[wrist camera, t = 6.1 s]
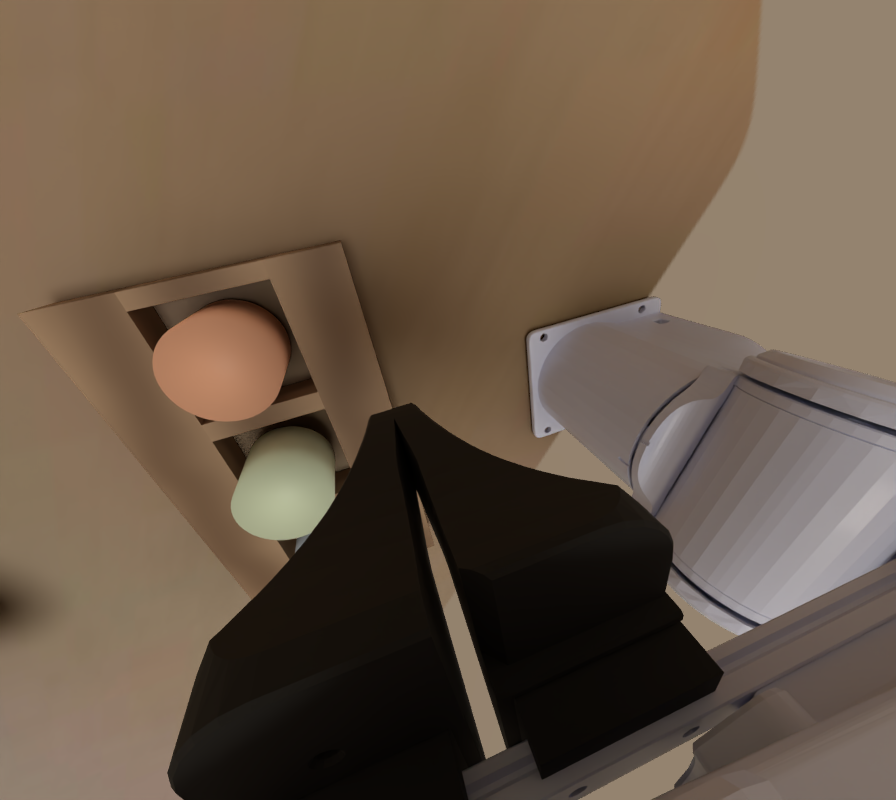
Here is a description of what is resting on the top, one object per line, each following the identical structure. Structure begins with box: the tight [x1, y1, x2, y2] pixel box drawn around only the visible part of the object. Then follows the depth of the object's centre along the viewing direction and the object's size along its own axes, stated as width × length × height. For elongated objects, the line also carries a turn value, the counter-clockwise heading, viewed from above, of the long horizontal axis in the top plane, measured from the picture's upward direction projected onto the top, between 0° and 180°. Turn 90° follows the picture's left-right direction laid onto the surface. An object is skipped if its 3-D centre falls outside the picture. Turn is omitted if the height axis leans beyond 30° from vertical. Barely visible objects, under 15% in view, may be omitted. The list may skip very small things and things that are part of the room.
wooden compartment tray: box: [18, 241, 434, 599], centre depth 19 cm, size 12×20×2 cm, turn 10°
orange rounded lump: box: [152, 300, 291, 422], centre depth 15 cm, size 4×4×4 cm
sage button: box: [231, 426, 335, 540], centre depth 18 cm, size 4×4×4 cm
